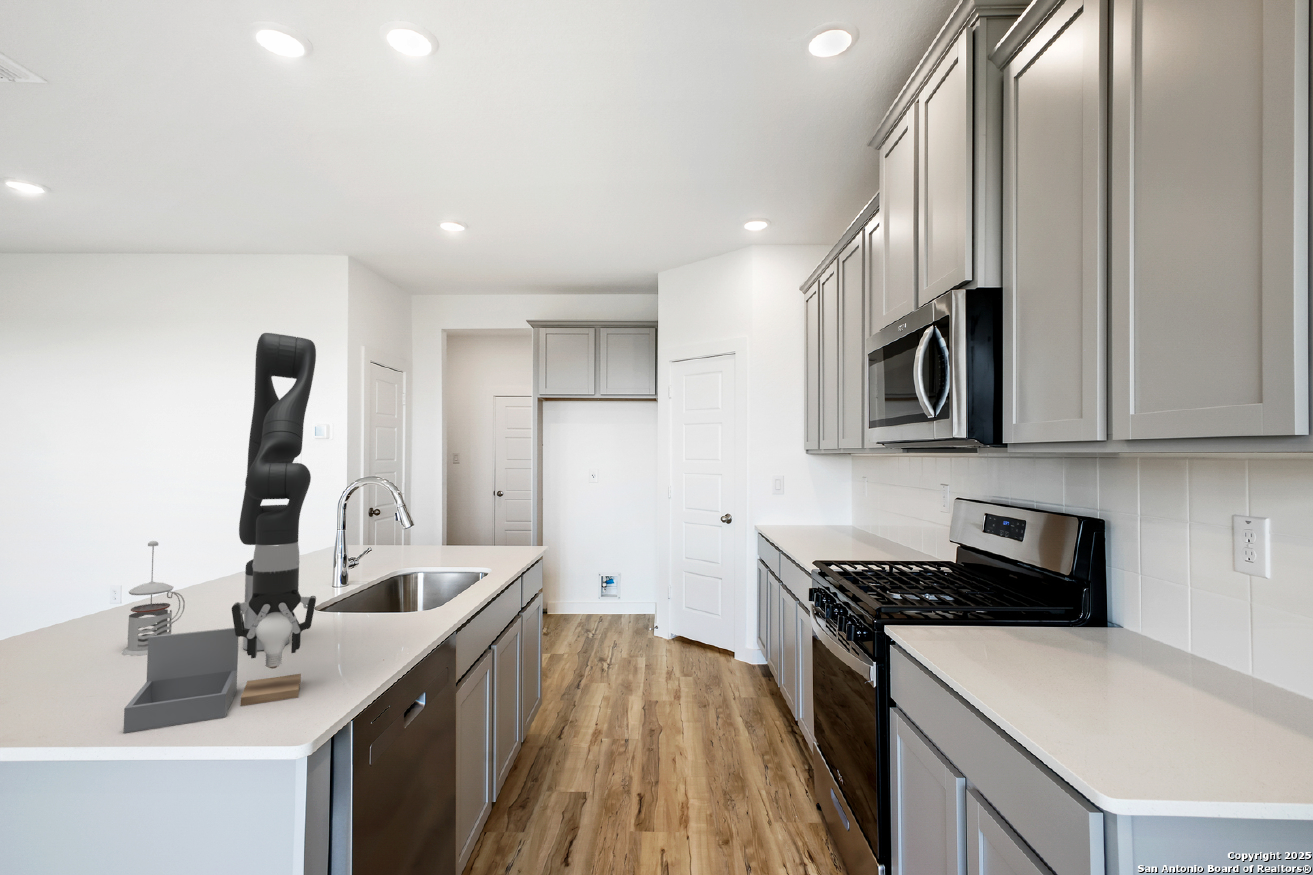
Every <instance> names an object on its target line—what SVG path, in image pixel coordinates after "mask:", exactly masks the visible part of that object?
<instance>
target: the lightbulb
mask: <svg viewBox="0 0 1313 875" xmlns="http://www.w3.org/2000/svg"><path fill="white" fill-rule="evenodd" d="M289 618H290V617H289ZM258 621H260V620H258ZM292 632H293V631H292V623H290V622H289V620H288V619H287V618H286V617H285V616H284V615H283V614H282V613H281V612H273V613H269V614H267V615H266V616H265V618H264V619H263V620H262V621H261V622H260V623H259V625H258V626H257V627H256V636H257V638H258V639H259V641H260V642H261V643H262V645H263V648H264V650H263V652H264V654H265V665H264V666H265V667H267V668H269V669H271V670H273V669H276V668H278V667H280V666H281V665H282V663H283V661H282V660H283V659H282V658H283V651H284V649H285V646H286V645H285V642H286V640H287V639H288V638H289V639H290V636H292Z"/></svg>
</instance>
